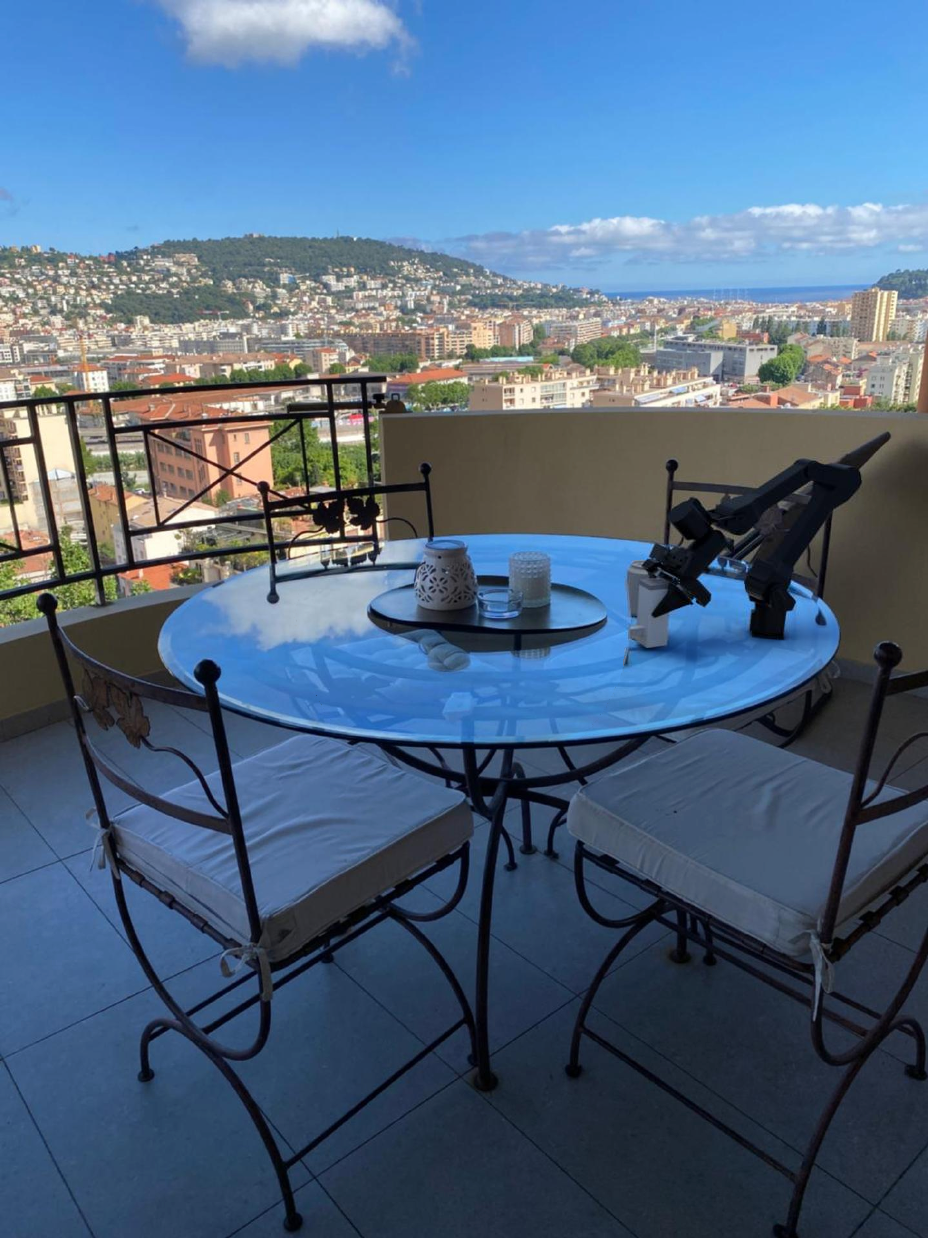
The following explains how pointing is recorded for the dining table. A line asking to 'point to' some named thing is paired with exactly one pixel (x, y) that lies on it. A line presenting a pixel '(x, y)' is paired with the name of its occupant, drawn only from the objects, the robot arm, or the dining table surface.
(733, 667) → the dining table surface
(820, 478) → the robot arm
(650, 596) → the adapter
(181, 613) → the dining table surface
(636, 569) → the can
